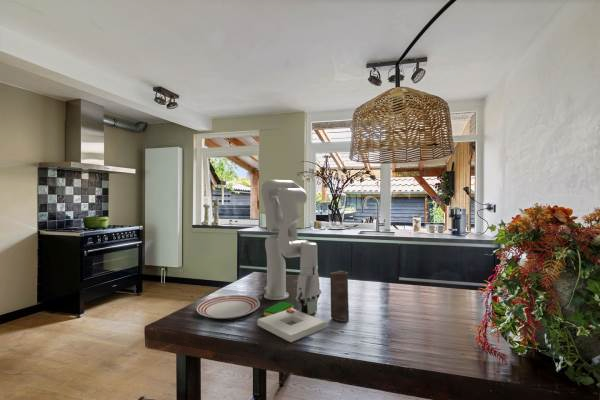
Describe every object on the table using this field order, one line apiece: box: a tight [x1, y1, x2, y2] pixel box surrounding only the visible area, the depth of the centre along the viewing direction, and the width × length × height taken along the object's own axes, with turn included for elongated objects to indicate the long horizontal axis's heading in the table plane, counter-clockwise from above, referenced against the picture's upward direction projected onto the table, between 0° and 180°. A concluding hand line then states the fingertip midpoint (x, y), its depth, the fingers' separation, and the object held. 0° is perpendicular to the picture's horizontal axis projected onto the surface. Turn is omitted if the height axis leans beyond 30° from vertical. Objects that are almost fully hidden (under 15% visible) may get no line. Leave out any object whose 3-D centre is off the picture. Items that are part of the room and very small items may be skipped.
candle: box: [329, 270, 350, 323], centre depth 127 cm, size 8×7×20 cm
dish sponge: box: [263, 301, 295, 317], centre depth 137 cm, size 7×14×2 cm, turn 150°
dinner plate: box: [196, 294, 261, 320], centre depth 137 cm, size 27×27×3 cm
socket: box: [257, 308, 327, 343], centre depth 120 cm, size 20×18×3 cm
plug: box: [303, 297, 318, 315], centre depth 134 cm, size 6×5×7 cm
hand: (309, 311), depth 134 cm, fingers closed on plug, 5 cm apart
